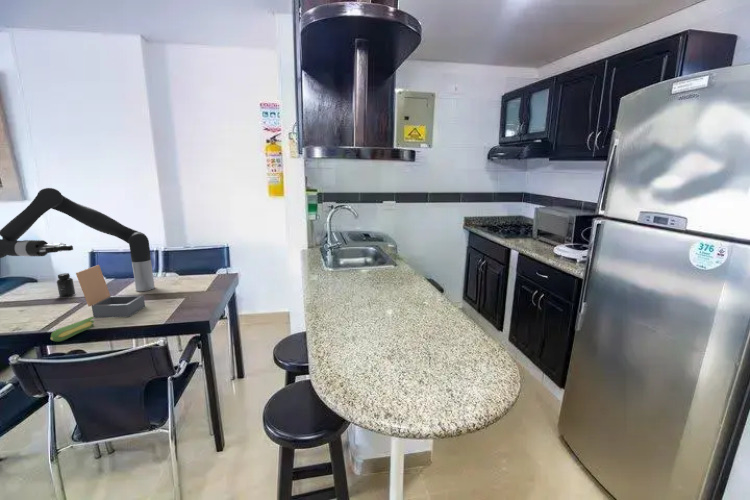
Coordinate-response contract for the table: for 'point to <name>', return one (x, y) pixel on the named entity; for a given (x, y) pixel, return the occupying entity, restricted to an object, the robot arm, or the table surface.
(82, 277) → the panel
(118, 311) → the duct box
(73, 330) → the edible corn
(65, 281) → the supplement bottle
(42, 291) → the table surface
